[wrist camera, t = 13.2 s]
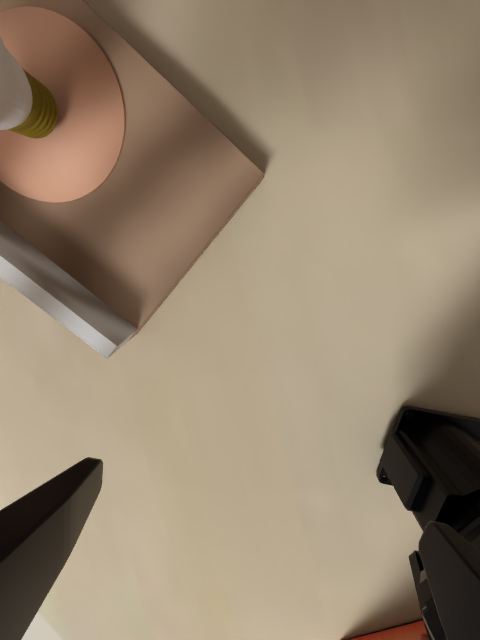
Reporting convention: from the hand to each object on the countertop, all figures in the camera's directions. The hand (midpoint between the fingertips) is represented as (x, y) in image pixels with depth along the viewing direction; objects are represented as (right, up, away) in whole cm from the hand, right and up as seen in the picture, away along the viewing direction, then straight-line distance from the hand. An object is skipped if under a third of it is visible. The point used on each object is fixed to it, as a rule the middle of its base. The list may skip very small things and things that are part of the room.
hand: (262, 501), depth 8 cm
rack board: (-12, +16, +10) cm, 22 cm away
